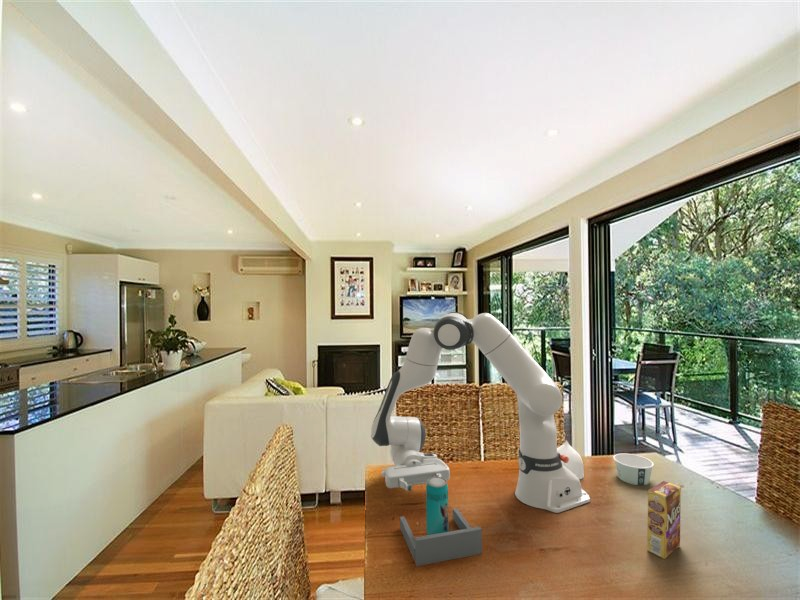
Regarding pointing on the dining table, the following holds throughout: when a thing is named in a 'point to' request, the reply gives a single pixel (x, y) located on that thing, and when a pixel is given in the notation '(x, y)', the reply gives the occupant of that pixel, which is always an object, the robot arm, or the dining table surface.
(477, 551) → the lane rack
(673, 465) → the dining table surface
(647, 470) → the food container
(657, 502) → the candy box
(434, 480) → the beverage can
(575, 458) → the teardrop
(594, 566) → the dining table surface
